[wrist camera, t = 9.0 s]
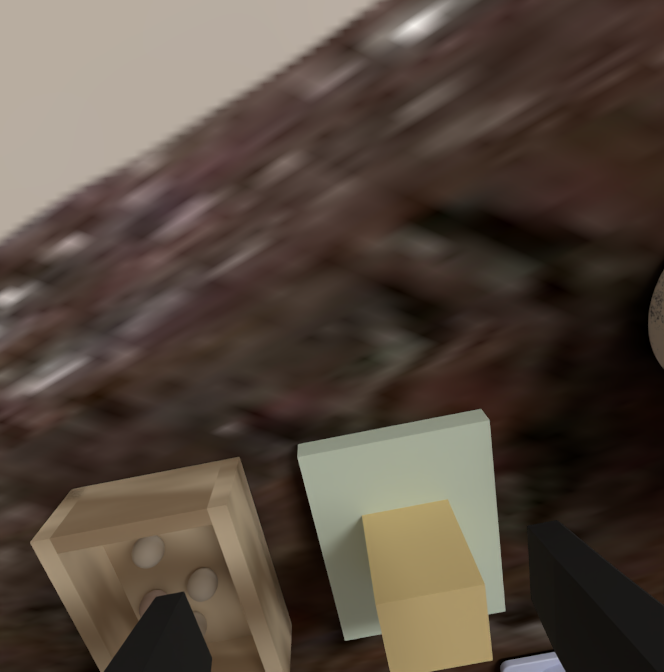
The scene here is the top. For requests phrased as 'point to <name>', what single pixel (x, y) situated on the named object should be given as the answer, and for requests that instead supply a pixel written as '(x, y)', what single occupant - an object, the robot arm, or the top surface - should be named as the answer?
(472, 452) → the lid
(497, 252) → the top surface
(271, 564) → the box
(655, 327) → the teacup with lid
